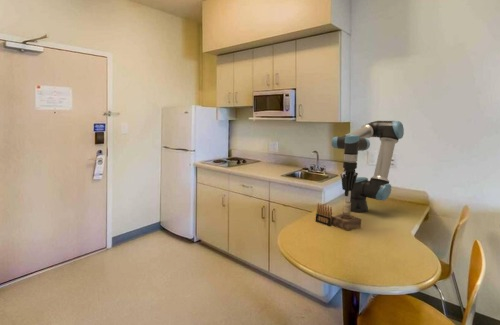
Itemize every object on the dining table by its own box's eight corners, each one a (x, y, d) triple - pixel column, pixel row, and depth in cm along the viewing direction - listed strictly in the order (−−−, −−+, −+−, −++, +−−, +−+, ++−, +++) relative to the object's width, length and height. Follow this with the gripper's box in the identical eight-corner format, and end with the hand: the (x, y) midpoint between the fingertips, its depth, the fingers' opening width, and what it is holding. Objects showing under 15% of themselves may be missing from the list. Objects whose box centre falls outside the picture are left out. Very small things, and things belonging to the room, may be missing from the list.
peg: (346, 223, 166) (348, 203, 164) (340, 221, 169) (342, 201, 168) (351, 222, 168) (352, 202, 167) (345, 220, 172) (346, 200, 170)
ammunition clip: (315, 221, 176) (316, 202, 174) (317, 220, 177) (318, 202, 175) (330, 226, 168) (331, 206, 166) (332, 225, 169) (333, 206, 167)
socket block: (330, 224, 171) (331, 216, 170) (344, 221, 177) (344, 213, 177) (347, 230, 161) (347, 222, 160) (360, 227, 167) (361, 218, 167)
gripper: (348, 162, 157) (345, 204, 160) (363, 161, 164) (359, 201, 167) (337, 161, 163) (334, 201, 167) (352, 160, 170) (349, 198, 174)
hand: (347, 201), depth 167 cm, fingers closed
